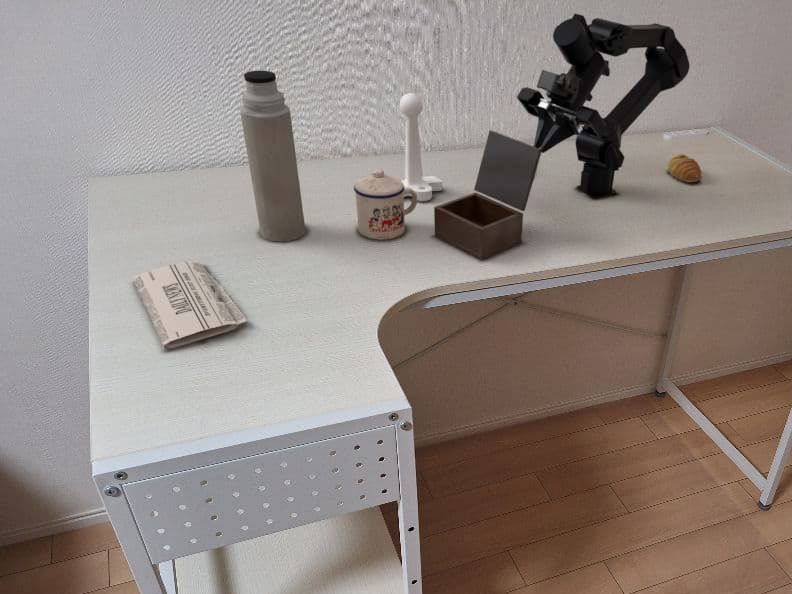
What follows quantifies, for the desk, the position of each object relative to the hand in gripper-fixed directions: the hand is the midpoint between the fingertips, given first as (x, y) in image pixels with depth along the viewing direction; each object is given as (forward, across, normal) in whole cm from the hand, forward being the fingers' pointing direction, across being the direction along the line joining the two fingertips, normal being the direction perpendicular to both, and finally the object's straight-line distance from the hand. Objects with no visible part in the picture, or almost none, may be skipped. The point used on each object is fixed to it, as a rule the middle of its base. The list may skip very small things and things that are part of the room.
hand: (538, 150), depth 146 cm
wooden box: (+21, 0, -2) cm, 21 cm away
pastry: (-22, +7, +41) cm, 47 cm away
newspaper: (+57, -13, -37) cm, 69 cm away
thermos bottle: (+39, -26, -19) cm, 50 cm away
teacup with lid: (+28, -14, -8) cm, 32 cm away
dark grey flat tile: (+8, 0, -5) cm, 9 cm away
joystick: (+17, -23, +2) cm, 29 cm away
